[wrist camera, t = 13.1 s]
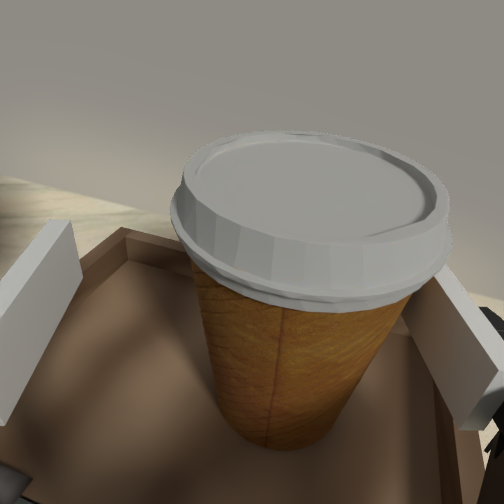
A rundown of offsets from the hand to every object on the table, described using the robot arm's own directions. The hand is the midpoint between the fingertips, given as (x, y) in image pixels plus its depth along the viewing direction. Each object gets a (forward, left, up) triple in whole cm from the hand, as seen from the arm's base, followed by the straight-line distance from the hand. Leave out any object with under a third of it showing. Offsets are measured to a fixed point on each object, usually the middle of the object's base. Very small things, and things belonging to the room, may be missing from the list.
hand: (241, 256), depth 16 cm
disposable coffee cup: (+2, 0, -8) cm, 9 cm away
